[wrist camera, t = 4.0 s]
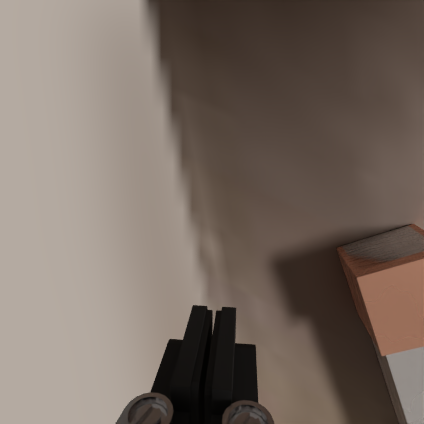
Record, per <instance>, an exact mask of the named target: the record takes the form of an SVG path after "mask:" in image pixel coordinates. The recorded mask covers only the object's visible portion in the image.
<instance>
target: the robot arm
mask: <svg viewBox="0 0 424 424" xmlns="http://www.w3.org/2000/svg"><path fill="white" fill-rule="evenodd" d="M235 332H236V308H233V307H222V311H216V316H215V323H214V329H213V336H212V310H207V306H196V305H193V307H192V311H191V314H190V317H189V321H188V324H187V328H186V331H185V335H184V339H183V340H177V339H170V340H169V342H168V344H167V347H166V350H165V353H164V355H163V358H162V361H161V364H160V367H159V369H158V372H157V375H156V378H155V381H154V384H153V387H152V389H151V392H150V393H145V394H142V395H140V396H137V397H136V398H134V399H133V400H132V401H130V402H129V404H128V405H127V406H126V407H125V409H124V410H123V412H122V414H121V415H120V417H119V419H118V420H117V422H116V424H274V421H273V418H272V416H271V414H270V413H269V411H268V410H267V409H266V408H265V407H263V406H262V405H261V404H259V403H258V388H257V367H256V346H255V345H252V344H237V343H235Z"/></svg>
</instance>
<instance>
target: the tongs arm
mask: <svg viewBox="0 0 424 424" xmlns="http://www.w3.org/2000/svg"><path fill="white" fill-rule="evenodd" d="M336 249H337V252H338V255H339V258H340V261H341V264H342V267H343V270H344V273H345V276H346V279H347V282H348V285H349V288H350V291H351V295H352V298H353V301H354V304H355V307H356V310H357V313H358V315H359V317H360V318H361V320H362V322H363V324H364V326H365V327H366V329H367V331H368V333H369V334H370V336H371V339H372V342H373V345H374V348H375V351H376V354H377V357H378V360H379V363H380V367H381V370H382V373H383V376H384V379H385V382H386V385H387V388H388V391H389V394H390V397H391V400H392V403H393V407H394V410H395V413H396V416H397V419H398V422H399V424H424V230H423V229H421V228H419V227H418V226H416V225H415V224H412V225H408V226H405V227H402V228H399V229H395V230H392V231H389V232H386V233H382V234H379V235H376V236H373V237H370V238H366V239H363V240H360V241H357V242H353V243H350V244H347V245H344V246H341V247H337V248H336Z"/></svg>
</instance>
